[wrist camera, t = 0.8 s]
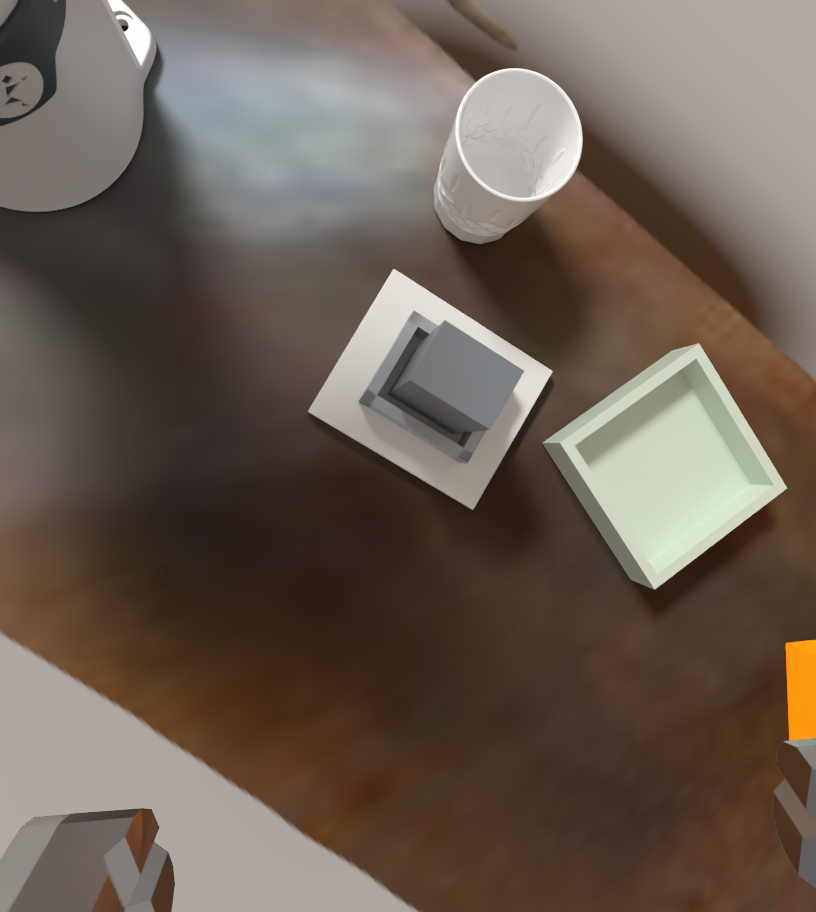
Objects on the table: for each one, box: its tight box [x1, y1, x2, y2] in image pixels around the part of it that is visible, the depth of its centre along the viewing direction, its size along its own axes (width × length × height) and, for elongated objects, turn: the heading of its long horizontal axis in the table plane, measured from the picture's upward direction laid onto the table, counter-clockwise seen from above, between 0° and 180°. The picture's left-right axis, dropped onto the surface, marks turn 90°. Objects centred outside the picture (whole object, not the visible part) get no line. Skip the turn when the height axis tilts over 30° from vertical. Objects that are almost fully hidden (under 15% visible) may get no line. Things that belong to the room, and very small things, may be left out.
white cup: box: [433, 68, 582, 244], centre depth 43 cm, size 8×8×10 cm
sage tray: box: [542, 344, 787, 590], centre depth 48 cm, size 13×13×4 cm
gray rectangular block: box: [388, 320, 524, 434], centre depth 41 cm, size 6×4×10 cm
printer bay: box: [308, 269, 553, 510], centre depth 46 cm, size 14×12×4 cm
